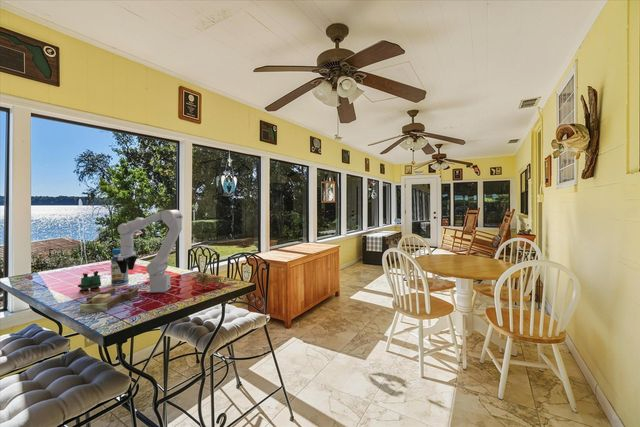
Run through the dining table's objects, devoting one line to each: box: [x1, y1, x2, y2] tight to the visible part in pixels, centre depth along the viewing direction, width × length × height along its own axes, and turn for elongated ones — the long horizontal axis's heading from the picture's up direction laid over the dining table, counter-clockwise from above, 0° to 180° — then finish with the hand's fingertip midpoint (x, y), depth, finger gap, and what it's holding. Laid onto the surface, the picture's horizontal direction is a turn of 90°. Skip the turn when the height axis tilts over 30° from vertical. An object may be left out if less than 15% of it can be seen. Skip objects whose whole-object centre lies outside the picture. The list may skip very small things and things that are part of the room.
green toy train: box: [77, 270, 102, 295], centre depth 151 cm, size 9×11×10 cm
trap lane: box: [79, 286, 139, 313], centre depth 137 cm, size 16×26×3 cm, turn 9°
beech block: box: [92, 294, 112, 304], centre depth 130 cm, size 5×5×5 cm
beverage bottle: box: [110, 247, 129, 286], centre depth 166 cm, size 8×8×20 cm
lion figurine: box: [195, 272, 225, 289], centre depth 159 cm, size 15×5×9 cm, turn 114°
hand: (127, 271), depth 155 cm, fingers open, 7 cm apart
